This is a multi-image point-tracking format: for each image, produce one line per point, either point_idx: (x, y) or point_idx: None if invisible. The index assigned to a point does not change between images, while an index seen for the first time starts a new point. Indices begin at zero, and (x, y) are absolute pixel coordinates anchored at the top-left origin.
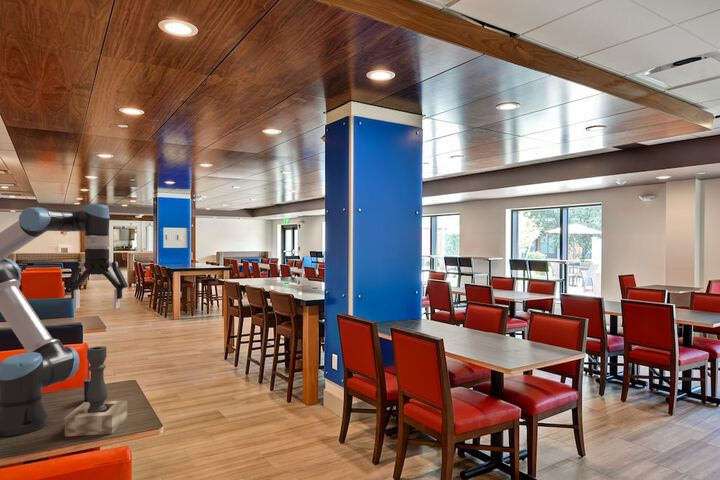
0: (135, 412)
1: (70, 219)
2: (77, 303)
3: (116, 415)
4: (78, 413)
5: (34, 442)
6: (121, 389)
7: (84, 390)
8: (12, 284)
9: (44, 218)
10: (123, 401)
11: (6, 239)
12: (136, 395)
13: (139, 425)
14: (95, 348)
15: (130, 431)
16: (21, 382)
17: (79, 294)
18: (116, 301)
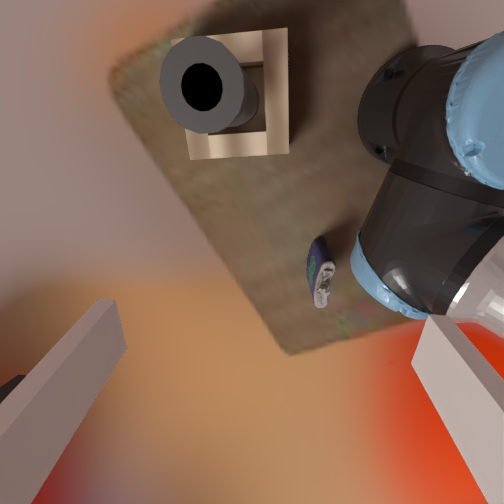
0: (196, 183)
1: None
2: (444, 368)
3: None
4: (265, 60)
5: (340, 2)
6: (284, 315)
7: (329, 252)
8: None
9: None
10: (194, 150)
11: None
12: (239, 280)
13: (149, 100)
14: (206, 83)
15: (150, 62)
16: (467, 50)
17: (487, 487)
18: (61, 347)
